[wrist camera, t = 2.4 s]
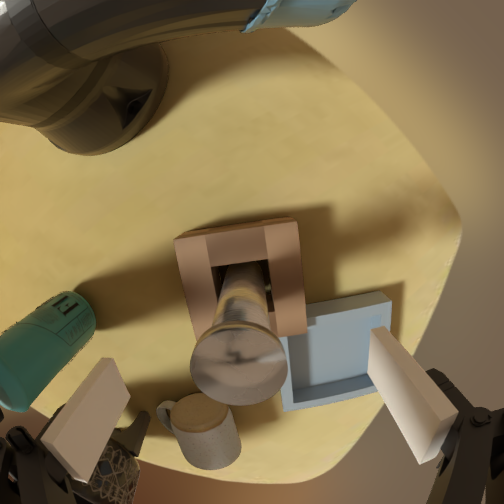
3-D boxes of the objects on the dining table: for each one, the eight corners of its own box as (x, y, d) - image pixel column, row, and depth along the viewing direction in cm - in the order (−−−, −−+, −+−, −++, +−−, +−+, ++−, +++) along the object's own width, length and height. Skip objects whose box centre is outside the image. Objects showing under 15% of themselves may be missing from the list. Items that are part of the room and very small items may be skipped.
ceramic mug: (231, 386, 30) (225, 433, 22) (243, 427, 31) (240, 471, 24) (150, 388, 30) (130, 429, 23) (170, 428, 32) (157, 467, 24)
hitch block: (184, 232, 26) (173, 239, 22) (289, 216, 25) (297, 221, 21) (204, 326, 28) (198, 346, 24) (300, 314, 28) (307, 333, 24)
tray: (270, 309, 27) (272, 323, 24) (379, 290, 27) (392, 300, 24) (281, 395, 30) (283, 411, 27) (373, 375, 30) (382, 389, 27)
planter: (134, 380, 30) (79, 488, 12) (171, 441, 32) (146, 536, 15) (66, 379, 30) (7, 456, 13) (105, 436, 33) (69, 512, 16)
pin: (216, 255, 26) (178, 335, 12) (265, 248, 26) (283, 324, 11) (225, 300, 27) (202, 407, 13) (271, 294, 27) (291, 399, 12)
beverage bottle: (100, 288, 27) (-26, 394, 7) (107, 339, 28) (15, 458, 9) (58, 281, 27) (-63, 360, 7) (66, 329, 28) (-29, 422, 9)
